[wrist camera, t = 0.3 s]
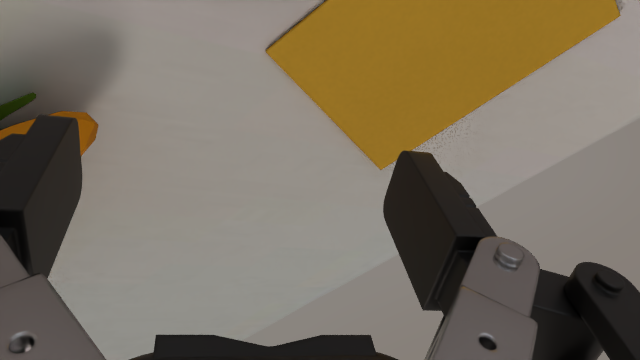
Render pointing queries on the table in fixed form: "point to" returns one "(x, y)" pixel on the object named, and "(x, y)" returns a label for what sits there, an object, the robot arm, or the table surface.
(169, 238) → the table surface
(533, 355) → the robot arm
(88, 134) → the corn
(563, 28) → the cloth
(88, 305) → the table surface
